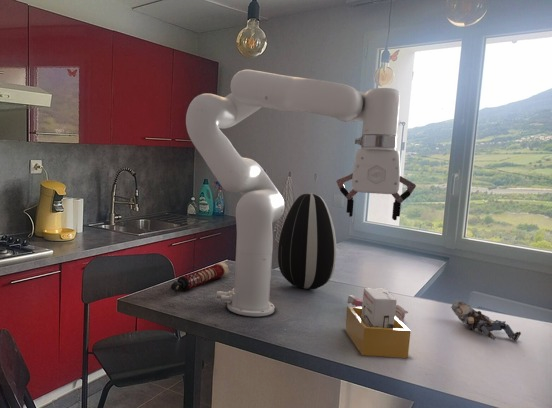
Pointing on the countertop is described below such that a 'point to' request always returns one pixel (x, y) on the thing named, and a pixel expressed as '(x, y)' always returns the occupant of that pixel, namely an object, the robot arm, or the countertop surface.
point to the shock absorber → (201, 276)
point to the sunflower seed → (307, 243)
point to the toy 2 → (481, 321)
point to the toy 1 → (399, 310)
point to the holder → (377, 336)
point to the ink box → (378, 308)
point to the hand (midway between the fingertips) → (372, 217)
